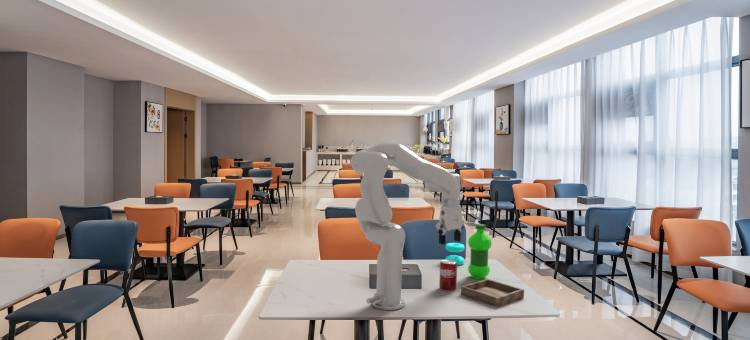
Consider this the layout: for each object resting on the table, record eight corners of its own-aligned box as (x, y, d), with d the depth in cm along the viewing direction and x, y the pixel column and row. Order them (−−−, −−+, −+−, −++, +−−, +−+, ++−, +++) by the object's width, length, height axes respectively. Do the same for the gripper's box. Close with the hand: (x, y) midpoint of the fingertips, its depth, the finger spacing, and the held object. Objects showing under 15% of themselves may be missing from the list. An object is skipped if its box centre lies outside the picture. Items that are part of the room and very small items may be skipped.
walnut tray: (497, 307, 176) (497, 298, 175) (460, 294, 189) (461, 286, 189) (523, 298, 187) (524, 289, 187) (487, 286, 201) (487, 278, 201)
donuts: (446, 241, 245) (465, 243, 243) (445, 260, 246) (464, 261, 243) (444, 245, 235) (464, 247, 233) (444, 264, 236) (463, 266, 234)
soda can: (456, 292, 192) (457, 264, 191) (438, 291, 193) (439, 263, 193) (456, 287, 199) (457, 260, 198) (439, 286, 200) (440, 259, 200)
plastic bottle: (492, 276, 216) (494, 224, 215) (484, 282, 207) (486, 227, 206) (472, 273, 222) (474, 222, 220) (464, 278, 213) (465, 225, 211)
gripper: (443, 205, 186) (442, 246, 187) (470, 202, 197) (469, 241, 198) (430, 203, 191) (429, 243, 193) (457, 200, 202) (456, 238, 204)
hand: (449, 242), depth 195 cm, fingers open, 9 cm apart
